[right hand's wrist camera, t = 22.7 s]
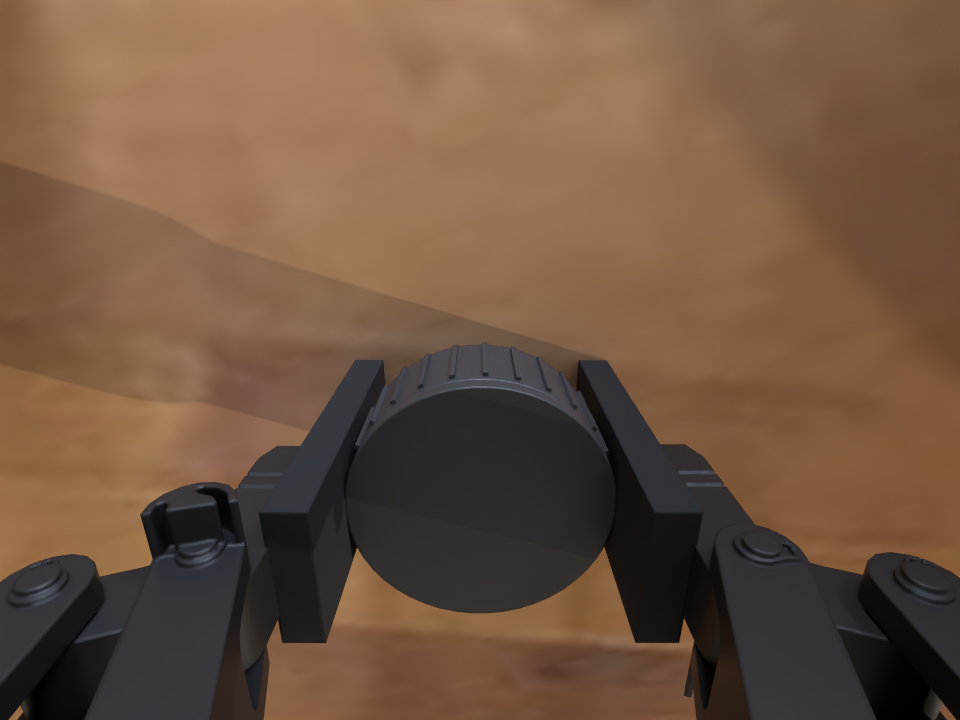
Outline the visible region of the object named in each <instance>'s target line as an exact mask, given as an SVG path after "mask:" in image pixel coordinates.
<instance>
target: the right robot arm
mask: <svg viewBox="0 0 960 720" xmlns="http://www.w3.org/2000/svg"><path fill="white" fill-rule="evenodd" d="M384 386H385V381H384V367H383V361H376V360H355V362H354V363H353V365H352V366H351V368H350V370H349V371H348V373H347V374H346V376H345V377H344V379H343V380H342V382H341V384H340V385H339V387H338V388H337V390H336V391H335V393H334V395H333V396H332V398H331V399H330V401H329V402H328V404H327V406H326V407H325V409H324V410H323V412H322V413H321V415H320V417H319V418H318V420H317V421H316V423H315V424H314V426H313V428H312V429H311V431H310V432H309V434H308V435H307V437H306V439H305V440H304V442H303V443H302V445H301V446H277V447H275V448H274V449H272V450H271V451H269V452H268V453H266V454H265V455H263V456H262V457H260V458H259V459H258V460H257V461H256V463H255V464H254V465H253V467H252V468H251V469H250V471H249V472H248V475H247V476H245V477H244V479H243V480H242V481H241V483H240V484H239V487H238V488H236V489H235V490H234V489H233V488H232V487H230V486H229V485H226V484H222V483H217V482H206V483H196V484H192V485H187V486H183V487H180V488H178V489H175V490H173V491H170V492H168V493H166V494H163V495H162V496H160V497H159V498H157V499H156V500H154V501H153V502H151V503H150V504H149V505H148V506H147V507H146V508H145V510H144V511H143V512H142V513H141V514H140V515H141V519H142V522H143V526H144V530H145V533H146V537H147V540H148V544H149V547H150V551H151V554H152V558H153V560H152V562H151V565H150V566H146V567H142V568H138V569H134V570H129V571H124V572H120V573H115V574H110V575H106V576H101V577H100V576H99V573H98V570H97V567H96V564H95V562H94V561H92V560H91V559H90V558H89V557H87V556H82V555H75V554H70V555H63V556H56V557H51V558H48V559H44V560H42V561H38V562H35V563H33V564H30V565H29V566H27V567H25V568H23V569H21V570H19V571H17V572H15V573H13V574H11V575H10V576H8V577H7V578H6V579H4V580H3V581H2V582H0V720H9V718H10V717H11V716H12V715H13V713H14V712H15V711H16V710H17V709H18V707H19V706H21V708H22V710H23V713H22V715H21V716H20V717H19V718H18V720H264V710H265V701H266V692H267V683H268V673H269V664H270V663H269V656H268V650H267V643H268V640H269V638H270V636H271V634H272V631H273V629H274V627H275V625H276V622H277V620H278V622H279V627H280V633H281V638H282V643H326V642H327V638H328V635H329V632H330V629H331V626H332V623H333V620H334V617H335V614H336V611H337V608H338V605H339V601H340V598H341V595H342V592H343V589H344V586H345V583H346V580H347V577H348V574H349V571H350V568H351V564H352V561H353V558H354V555H355V552H356V549H357V546H356V544H355V542H354V539H353V537H352V535H351V532H350V529H349V525H348V521H347V515H346V506H345V490H346V483H347V478H348V474H349V470H350V468H351V465H352V463H353V460H354V458H355V455H356V453H357V449H354V446H355V444H356V442H357V439H358V437H359V435H360V432H361V430H362V428H363V425H364V423H365V421H366V418H367V416H368V414H369V411H370V409H371V407H373V408H375V406H376V404H377V401H378V399H379V396H380V394H381V391H382V389H383V387H384ZM578 391H580V392H581V394H582V396H583V398H584V400H585V403H586V405H587V407H588V409H589V411H590V413H592V416H593V418H594V420H595V422H596V424H597V426H598V429H599V431H600V433H601V435H602V437H603V440H604V442H605V444H606V446H607V448H608V451H609V453H610V455H608V456H607V458H608V461H609V463H610V466H611V469H612V472H613V475H614V481H615V486H616V508H615V517H614V522H613V525H612V529H611V532H610V535H609V537H608V539H607V541H606V543H605V546H604V547H605V550H606V553H607V556H608V559H609V562H610V566H611V569H612V572H613V575H614V578H615V581H616V584H617V587H618V590H619V593H620V596H621V600H622V603H623V606H624V609H625V612H626V615H627V618H628V621H629V624H630V627H631V630H632V634H633V637H634V640H635V643H679V641H680V636H681V630H682V625H683V619H684V618H685V621H686V623H687V625H688V627H689V630H690V632H691V634H692V636H693V639H694V645H693V650H692V655H691V660H690V665H689V670H688V675H687V680H686V686H685V693H684V696H687V697H691V695H692V691H693V690H694V700H695V709H696V718H697V720H947V719H946V718H945V717H944V716H943V714H942V713H941V712H940V708H941V706H942V704H944V705H945V706H946V707H947V709H948V710H949V711H950V712H951V713H952V715H953V716H954V717H955V718H956V720H960V578H959V577H957V576H956V575H955V574H953V573H952V572H950V571H948V570H946V569H944V568H942V567H940V566H938V565H936V564H934V563H933V562H930V561H927V560H925V559H920V558H919V557H915V556H911V555H906V554H899V553H892V552H889V553H881V554H875V555H874V556H873V557H872V558H870V559H869V560H868V562H867V565H866V567H865V570H864V573H863V575H861V574H856V573H852V572H847V571H842V570H838V569H833V568H829V567H824V566H820V565H816V564H813V563H809V561H808V559H807V558H806V556H805V555H804V553H803V552H802V551H801V549H800V548H799V547H798V546H797V545H796V544H794V543H793V542H792V541H790V540H789V539H788V538H787V537H785V536H783V535H781V534H779V533H777V532H775V531H773V530H771V529H768V528H765V527H761V526H757V525H755V524H754V523H753V521H752V520H751V519H750V518H749V516H748V515H747V514H746V512H745V511H744V510H743V508H742V507H741V506H740V504H739V503H738V502H737V500H736V499H735V498H734V496H733V495H732V494H731V492H730V491H729V490H728V488H727V487H724V483H723V482H722V481H721V479H720V478H719V477H718V475H717V474H715V473H714V472H715V471H714V470H713V469H712V467H711V466H710V465H709V463H708V462H707V461H706V459H705V458H704V457H703V456H701V455H700V454H698V453H697V452H695V451H694V450H692V449H691V448H689V447H688V446H686V445H685V444H660V443H659V442H658V440H657V439H656V437H655V436H654V434H653V433H652V431H651V429H650V428H649V426H648V425H647V423H646V422H645V420H644V418H643V417H642V415H641V414H640V412H639V411H638V409H637V407H636V406H635V404H634V403H633V401H632V400H631V398H630V396H629V395H628V393H627V392H626V390H625V389H624V387H623V385H622V384H621V382H620V381H619V379H618V378H617V376H616V374H615V373H614V371H613V370H612V368H611V367H610V365H609V363H608V362H607V361H583V360H579V365H578V379H577V392H578Z"/></svg>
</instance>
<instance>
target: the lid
mask: <svg viewBox="0 0 960 720" xmlns="http://www.w3.org/2000/svg"><path fill="white" fill-rule="evenodd" d="M354 449H357V453H356V455H355V458H354V460H353V463H352V465H351V468H350V470H349V474H348V478H347V483H346V490H345V506H346V515H347V521H348V525H349V529H350V532H351V535H352V537H353V539H354V542H355V544H356V546H357V548H358V549H359V551H360V553H361V554H362V556H363V558H364V559H365V560H366V561H367V563H368V564H369V565H370V566H371V568H372V569H373V570H374V571H375V572H376V573H377V574H378V575H379V576H380V577H381V578H382V579H384V580H385V581H386V582H387V583H389V584H390V585H391V586H393V587H394V588H395V589H397V590H399V591H400V592H402V593H404V594H406V595H407V596H409V597H411V598H413V599H416V600H418V601H420V602H422V603H425V604H428V605H431V606H434V607H437V608H441V609H446V610H451V611H456V612H465V613H495V612H504V611H509V610H514V609H519V608H523V607H526V606H529V605H532V604H535V603H538V602H540V601H542V600H545V599H547V598H549V597H551V596H553V595H555V594H556V593H558V592H560V591H562V590H563V589H565V588H566V587H567V586H569V585H570V584H572V583H573V582H574V581H576V580H577V579H578V578H579V577H580V576H581V575H582V574H583V573H584V572H585V571H586V570H587V569H588V568H589V567H590V566H591V565H592V563H593V562H594V561H595V560H596V558H597V557H598V555H599V554H600V552H601V551H602V549H603V547H604V546H605V543H606V541H607V539H608V537H609V535H610V532H611V529H612V525H613V522H614V517H615V508H616V486H615V481H614V475H613V472H612V469H611V466H610V463H609V461H608V458H607V456H608V455H610V453H609V451H608V448H607V446H606V444H605V442H604V440H603V437H602V435H601V433H600V431H599V429H598V426H597V424H596V422H595V420H594V418H593V416H592V413H590V411H589V409H588V407H587V405H586V403H585V400H584V398H583V396H582V394H581V392H580V391H578V392H576V391H575V390H574V388H573V387H572V386H571V384H570V383H569V382H568V381H567V379H566V377H565V374H564V373H563V372H562V371H561V372H560V373H559V372H557V371H556V370H555V369H553V368H552V367H551V366H549V365H548V364H546V363H545V362H543V360H542V358H541V357H539V356H538V357H537V358H536V357H534V356H531V355H529V354H526V353H524V352H521V351H518V350H516V348H515V347H512V346H511V348H507V347H501V346H494V345H487V343H482V345H468V346H459V347H458V345H454V346H453V348H450V349H446V350H442V351H440V352H437V353H434V354H432V355H430V353H428V354H426V355H425V358H423V359H421V360H419V361H418V362H416V363H414V364H413V365H411V366H410V367H409V368H406V367H404V368H403V369H402V370H401V372H400V375H399V376H398V377H397V378H396V379H394V380H393V381H392V382H391V384H390V385H389V386H388V387H387V386H386V385H385V386H384V387H383V389H382V391H381V394H380V396H379V399H378V401H377V404H376V406H375V408H373V407H371V409H370V411H369V414H368V416H367V418H366V421H365V423H364V425H363V428H362V430H361V432H360V435H359V437H358V439H357V442H356V444H355V446H354Z"/></svg>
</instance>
